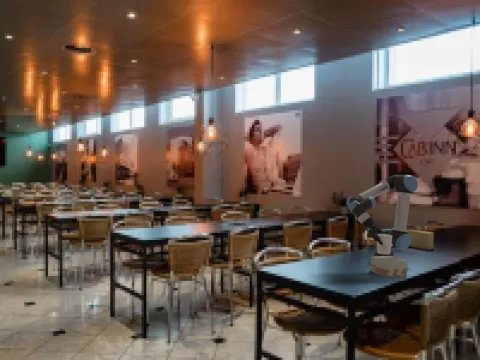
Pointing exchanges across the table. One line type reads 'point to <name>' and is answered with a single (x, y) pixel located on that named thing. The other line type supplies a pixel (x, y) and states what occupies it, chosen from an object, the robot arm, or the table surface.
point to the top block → (388, 262)
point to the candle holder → (387, 240)
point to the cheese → (421, 239)
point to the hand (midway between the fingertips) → (388, 247)
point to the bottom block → (388, 271)
